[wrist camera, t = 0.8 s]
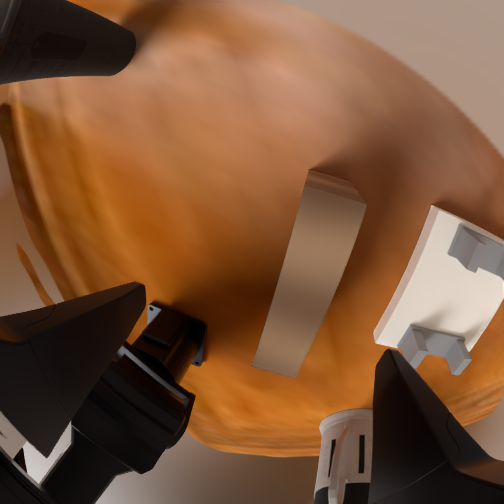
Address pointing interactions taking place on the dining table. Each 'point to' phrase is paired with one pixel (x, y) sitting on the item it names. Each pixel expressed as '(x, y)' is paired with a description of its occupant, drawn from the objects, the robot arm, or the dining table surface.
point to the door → (310, 271)
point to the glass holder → (345, 458)
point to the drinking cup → (59, 41)
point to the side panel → (445, 292)
